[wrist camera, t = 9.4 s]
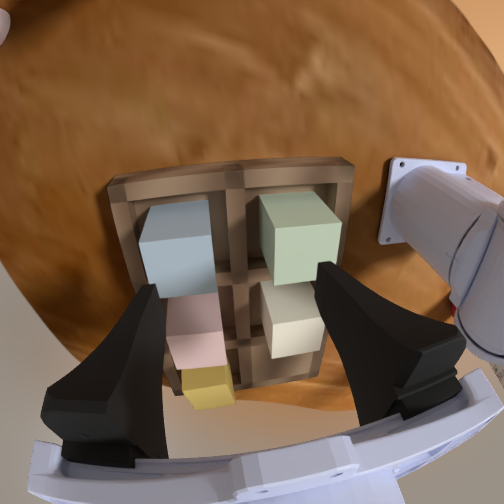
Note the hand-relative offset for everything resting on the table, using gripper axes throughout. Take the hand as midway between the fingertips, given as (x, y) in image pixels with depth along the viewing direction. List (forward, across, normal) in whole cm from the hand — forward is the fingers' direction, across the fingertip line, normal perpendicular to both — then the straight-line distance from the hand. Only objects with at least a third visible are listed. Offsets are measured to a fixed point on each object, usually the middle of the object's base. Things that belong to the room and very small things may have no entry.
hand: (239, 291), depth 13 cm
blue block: (+9, +3, +1) cm, 10 cm away
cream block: (+9, -4, +9) cm, 13 cm away
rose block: (+9, +3, +9) cm, 13 cm away
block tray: (+10, -1, +9) cm, 13 cm away
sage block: (+9, -4, +1) cm, 10 cm away
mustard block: (+9, +3, +16) cm, 19 cm away
